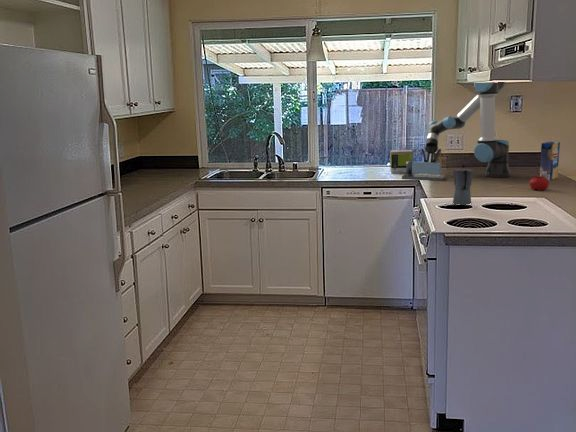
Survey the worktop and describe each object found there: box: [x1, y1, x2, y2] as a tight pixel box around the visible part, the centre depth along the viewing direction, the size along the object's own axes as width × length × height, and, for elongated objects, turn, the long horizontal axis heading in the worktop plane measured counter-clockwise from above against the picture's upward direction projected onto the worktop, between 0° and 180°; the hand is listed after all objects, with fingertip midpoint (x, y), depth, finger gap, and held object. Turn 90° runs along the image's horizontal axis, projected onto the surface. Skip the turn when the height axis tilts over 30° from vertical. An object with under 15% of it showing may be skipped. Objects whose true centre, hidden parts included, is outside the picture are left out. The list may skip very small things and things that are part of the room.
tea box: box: [389, 149, 415, 174], centre depth 411 cm, size 15×10×15 cm, turn 84°
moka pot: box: [452, 164, 474, 205], centre depth 297 cm, size 10×15×20 cm, turn 178°
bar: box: [405, 161, 442, 175], centre depth 385 cm, size 22×4×7 cm, turn 57°
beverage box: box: [539, 141, 561, 181], centre depth 371 cm, size 7×11×22 cm, turn 136°
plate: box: [401, 173, 446, 182], centre depth 384 cm, size 25×12×3 cm, turn 66°
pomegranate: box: [529, 172, 550, 191], centre depth 336 cm, size 10×10×9 cm
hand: (428, 170), depth 386 cm, fingers closed
